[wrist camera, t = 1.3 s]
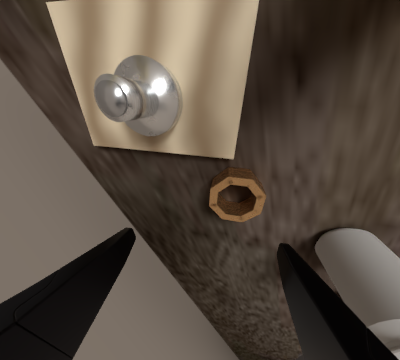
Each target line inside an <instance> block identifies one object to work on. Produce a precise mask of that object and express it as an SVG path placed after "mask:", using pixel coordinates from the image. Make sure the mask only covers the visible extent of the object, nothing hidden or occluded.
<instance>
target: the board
mask: <svg viewBox="0 0 400 360" xmlns="http://www.w3.org/2000/svg"><path fill="white" fill-rule="evenodd" d="M46 4H47V7H48V10H49V13H50V16H51V19H52V22H53V25H54V28H55V31H56V34H57V37H58V40H59V43H60V46H61V49H62V52H63V55H64V58H65V61H66V64H67V67H68V70H69V73H70V76H71V79H72V82H73V85H74V87H75V90H76V93H77V96H78V99H79V102H80V105H81V108H82V111H83V114H84V117H85V120H86V123H87V126H88V129H89V132H90V135H91V138H92V141H93V144H94V145H95V146H105V147H115V148H125V149H135V150H145V151H155V152H165V153H175V154H186V155H196V156H206V157H216V158H226V159H234V154H235V148H236V141H237V135H238V129H239V123H240V116H241V110H242V104H243V98H244V91H245V85H246V79H247V73H248V66H249V60H250V54H251V48H252V41H253V35H254V29H255V22H256V16H257V10H258V4H259V0H69V1H56V2H46ZM133 55H143V56H147V57H150V58H152V59H154V60H155V61H157V62H159V63H161V64H162V65H164V66H165V67H167V68H168V69H169V70H170V71H171V72H172V73H173V75H174V76H175V78H176V79H177V81H178V83H179V86H180V89H181V92H182V98H183V108H182V113H181V116H180V119H179V121H178V122H177V124H176V125H175V126H174V127H173V128H172V129H171V130H169V131H167V132H165V133H163V134H160V135H157V136H145V135H141V134H139V133H137V132H135V131H134V130H132V129H131V128H130V127H129V126H127V124H126V123H125V122H115V121H112V120H110V119H109V118H107V117H106V116H105V115H104V114H103V113H102V112H101V110H100V109H99V107H98V105H97V103H96V100H95V97H94V84H95V81H96V80H97V78H98V77H99V76H100V75H102V74H113V75H114V72H115V70H116V68H117V66H118V65H119V64H120V63H121V62H122V61H123V60H124V59H126V58H127V57H130V56H133Z"/></svg>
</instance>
